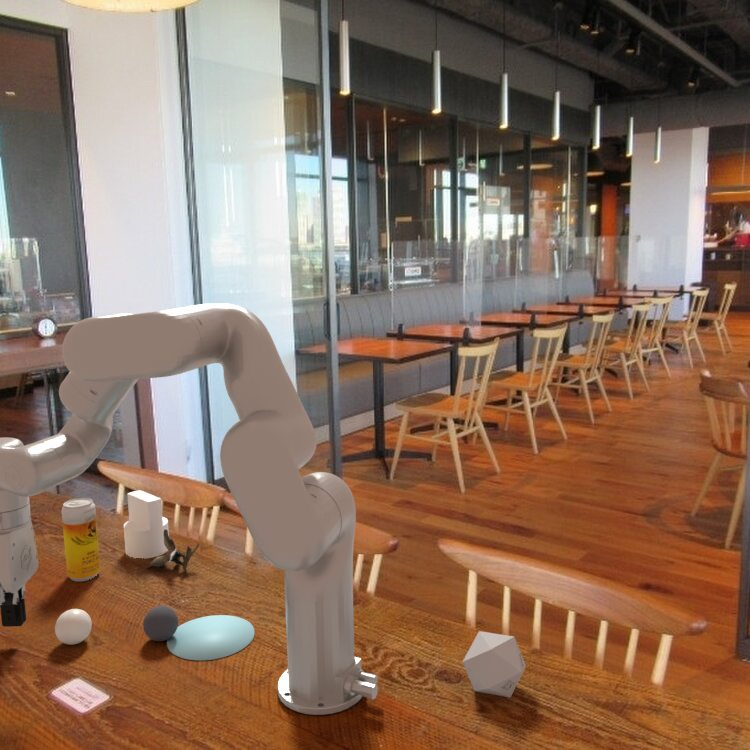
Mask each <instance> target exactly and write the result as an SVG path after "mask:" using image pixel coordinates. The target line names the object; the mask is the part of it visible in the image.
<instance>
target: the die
mask: <svg viewBox="0 0 750 750" xmlns="http://www.w3.org/2000/svg"><path fill="white" fill-rule="evenodd" d="M462 664H463V666H464V669H465V671H466V673H467V676H468V678H469V681H470V684H471V685H472V688H473V690H474V692H477V693H483V694H488V695H493V696H499V697H504V698H510V699H511V697H512V695H513V693H514V691H515V689H516V687H517V685H518V683H519V682H520V679H521V677H522V675H523V673H524V671H525V669H526V667H527V665H526V662H525V660H524V656H523V655H522V652H521V650H520V648H519V645H518V641H517V640H516V637H515V636H514V635H513V636H512V635H506V634H500V633H493V632H487V631H480V630H479V631H478V632H477V634H476V636H475V638H474V640H473V641H472V643H471V646H470V647H469V649H468V650H467V653H466V654H465V656H464V658H463V660H462Z"/></svg>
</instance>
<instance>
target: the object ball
mask: <svg viewBox="0 0 750 750" xmlns="http://www.w3.org/2000/svg"><path fill="white" fill-rule="evenodd" d="M142 627H143V631H144V634H145V635H146V636H147V637H148V638H149V639H150V640H152V641H154V642H164V641H167V639H169V638H170V637H172V636H173V635H174V633H175V632H176V630H177V627H179V616H178V614H177V613H176V611H175V610H174V609H173V608H171V607H170V606H167V605H157V606H154V607H152V608H151V609H150V610H149V611H147V613H146V614H145V616H144V619H143V623H142Z"/></svg>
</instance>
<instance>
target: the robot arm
mask: <svg viewBox="0 0 750 750" xmlns="http://www.w3.org/2000/svg"><path fill="white" fill-rule="evenodd" d="M61 346H62V347H61V353H62V355H61V356H62V360H63V363H64V366H65V367H66V369H67V371H68V374H66V376H65V378H64V379H63V380H62V382H61V383H60V386H59V389H58V396H59V399H60V402H61V404H62V405H63V406H64V407H65V409H67V411H69V412H70V413H71V416H70V418H69V419H68V420H67V421H66V423H65V424H64V425H63V427H62V429H60V430H59V432H58V433H56V434H54V435H52V436H49V437H45V438H43V439H40V440H37V441H35V442H32V443H28V444H26V445H24V443H23V441H22V440H20V439H19V438H15V437H6V436H5V437H0V617H1V625H2V627H4V628H5V627H22V626H23V624H24V623H25V622H26V621H27V611H26V601H25V597H26V583H28V581H29V580H31V578H32V577H33V576H34V575H35V574H36V572H37V571H38V568H39V558H38V550H37V548H38V547H37V543H36V536H35V532H34V531H35V530H34V527H33V526H34V525H33V523H32V516H31V503H30V502H31V501H30V497H34V496H36V495H39V494H41V493H42V494H43V493H44V492H46V491H49V490H50V489H53V488H54V487H56V486H59V485H61V484H64V483H65V482H68V481H71V480H72V479H74V478H77V477H79V476H80V475H82V474H83V473H84V472H85V471H86V470H87V469H88V468H89V467H90V466H91V465H92V464H93V463H94V461H95V460H96V458H97V457H98V456H99V455H100V454H101V452H102V451H103V449H104V448H105V446H106V445H107V443H108V441H109V440H110V438H111V435H112V431H113V425H114V414H115V413H116V411H117V410H118V408H119V407H120V406H121V404H122V403H123V401H124V399H126V397H127V395H128V394H129V393H130V391H131V390H132V389H133V387H135V384H137V382H138V381H139V380H145V379H157V378H166V377H167V378H168V377H172V376H177V375H180V374H183V373H187V372H191V371H194V370H196V369H200V368H203V367H206V366H208V365H211V364H220V365H221V366H222V369H223V378H224V379H223V380H224V385H225V391H227V395H228V397H229V399H230V401H231V403H232V405H233V407H234V409H235V412H236V414H237V416H238V420H239V421H237V422H236V423H234V424H233V425H232V426H231V427H230V428H229V429H228V430H227V432H226V433H225V436H224V437H223V438H222V441H221V442H222V443H221V446H220V453H219V459H220V466H221V467H220V468H221V471H222V475H223V477H224V480H225V482H226V484H227V486H228V489H229V491H230V494H231V496H232V498H233V499H234V502H235V504H236V506H237V508H238V510H239V512H240V514H241V518H242V519H243V520H244V523H245V525H246V527H247V530H248V532H249V534H250V536H251V538H252V540H253V542H254V544H255V545H256V547H257V549H258V550H259V552H260V553H261V555H262V556H263V557H264V558H265V560H266V561H268V562H269V564H271V565H272V566H274V567H275V568H277V569H279V570H282V571H284V573H283V574H284V576H283V577H284V602H285V603H284V604H285V627H286V628H285V629H286V630H285V631H286V653H287V654H286V655H287V669H286V670H285V671H284V672H283V673H282V674H281V676H280V677H279V679H278V682H277V694H278V695H277V696H278V698H279V700H280V702H282V704H283V705H284V706H285V707H287V708H289V709H290V710H291V711H292V710H293V711H295V712H297V713H301V714H305V715H313V716H323V715H324V716H325V715H331V714H332V715H333V714H335V713H339V712H342V711H345V710H347V709H350V708H351V707H353V706H354V705H356V704H357V703H358V702H359V701H360V700H361V699H362V698H363V697H364V698H367V699H370V700H375V699H376V698H377V696H378V692H379V686H378V685H377V683H378V679H379V677H378V674H373V673H371V672H365V671H364V669H363V668H362V658H361V657H356V656H355V626H354V624H355V623H354V622H355V621H354V620H355V619H354V618H355V617H354V568H353V567H354V564H353V563H354V544H355V535H356V534H355V533H356V523H357V522H356V521H357V508H356V500H355V498H354V495H353V492H352V490H351V488H350V487H349V485H348V484H347V483H346V482H345V480H343V479H342V478H341V477H339V476H337V475H336V474H333V473H330V472H325V471H316V472H312V473H309V474H306V475H304V476H301V474H300V471H299V470H300V469H301V468H303V467H304V466H305V465H306V464H307V463H308V462H309V461H311V459H312V457H313V456H314V455H315V452H316V449H317V444H318V440H317V434H316V431H315V429H314V426H313V424H312V420H310V417H309V415H308V413H307V411H306V409H305V407H304V405H303V403H302V400H301V398H300V397H299V395H298V391H297V390H296V388H295V385H294V383H293V382H292V380H291V377H290V376H289V373H288V372H287V370H286V368H285V365H284V363H283V360H282V359H281V356H280V354H279V351H278V349H277V347H276V345H275V341H274V340H273V338H272V336H271V333H270V332H269V330H268V329H267V326H265V323H264V322H263V321H262V320H261V319H260V318H259V317H258V316H257V315H256V314H254V313H253V312H252V311H250V310H248V309H247V308H245V307H242V306H240V305H236V304H232V303H223V302H222V303H217V302H216V303H215V302H213V303H212V302H211V303H201V304H193V305H187V306H182V307H181V306H180V307H174V308H169V309H163V310H162V309H161V310H155V311H148V312H142V313H141V312H140V313H129V312H125V313H124V312H123V313H112V314H105V315H100V316H91V317H88V318H87V317H86V318H84V319H81V320H79V321H77V322H76V323H75V324H73V326H72V327H71V328H69V330H68V331H67V333H66V334H65V336H64V339H63V342H62V345H61Z"/></svg>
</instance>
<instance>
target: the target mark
mask: <svg viewBox="0 0 750 750" xmlns="http://www.w3.org/2000/svg"><path fill="white" fill-rule="evenodd" d="M255 634H256V633H255V628H254V626H253V624H252V623H251V622H250V621H248V620H246V619H244V618H242V617H239V616H235V615H228V614H226V615H225V614H215V615H208V616H202V617H198V618H194V619H191V620H189V621H186V622H184V623H182V624H180V625H178V627H177V630H176V632H175V633H174V635H173V636H172V637H170V638H169V639H167V640H166V647H167V649H168V651H169V652H170V653H171V654H172V655H174V656H176V657H178V658H181V659H184V660H189V661H211V660H212V661H213V660H218V659H222V658H225V657H229V656H232V655H234V654H236V653H238V652H240V651H242V650H244V649H245V648H246V647H247V646H249V645H250V643H252V641H253V640H254V638H255Z"/></svg>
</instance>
